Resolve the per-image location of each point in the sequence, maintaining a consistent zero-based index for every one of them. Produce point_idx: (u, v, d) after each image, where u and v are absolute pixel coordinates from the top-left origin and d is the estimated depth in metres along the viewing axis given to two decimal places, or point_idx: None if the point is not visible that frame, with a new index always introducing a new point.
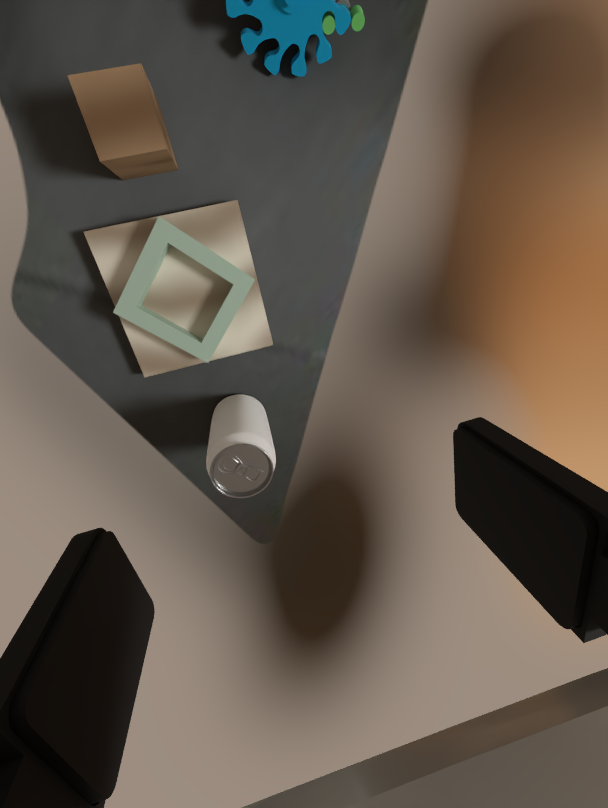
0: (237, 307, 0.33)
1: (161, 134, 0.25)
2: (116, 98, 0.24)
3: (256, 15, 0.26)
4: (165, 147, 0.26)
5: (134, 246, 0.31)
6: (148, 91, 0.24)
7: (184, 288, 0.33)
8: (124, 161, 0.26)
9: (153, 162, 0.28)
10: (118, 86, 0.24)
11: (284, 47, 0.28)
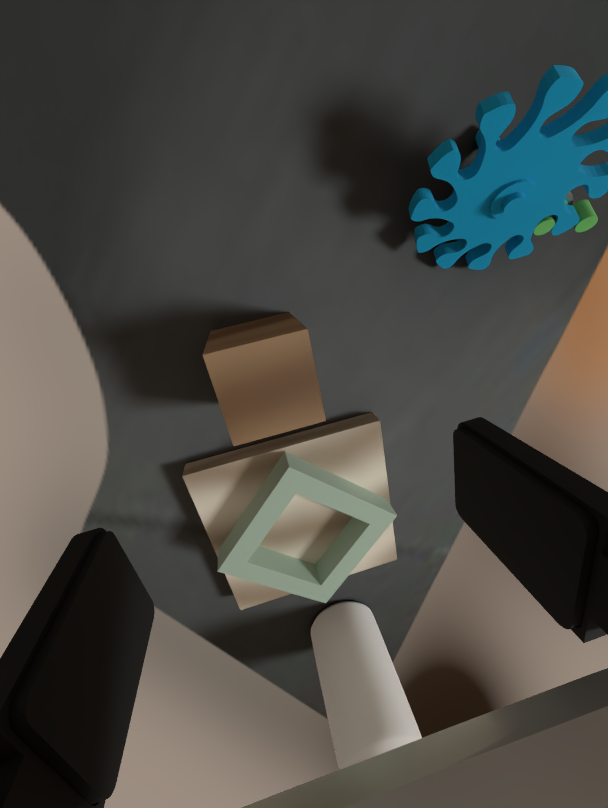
0: (370, 545, 0.26)
1: (321, 405, 0.18)
2: (266, 373, 0.16)
3: (450, 219, 0.18)
4: (324, 419, 0.18)
5: (244, 484, 0.24)
6: (312, 359, 0.17)
7: (300, 518, 0.26)
8: None
9: None
10: (271, 358, 0.16)
11: (471, 246, 0.20)
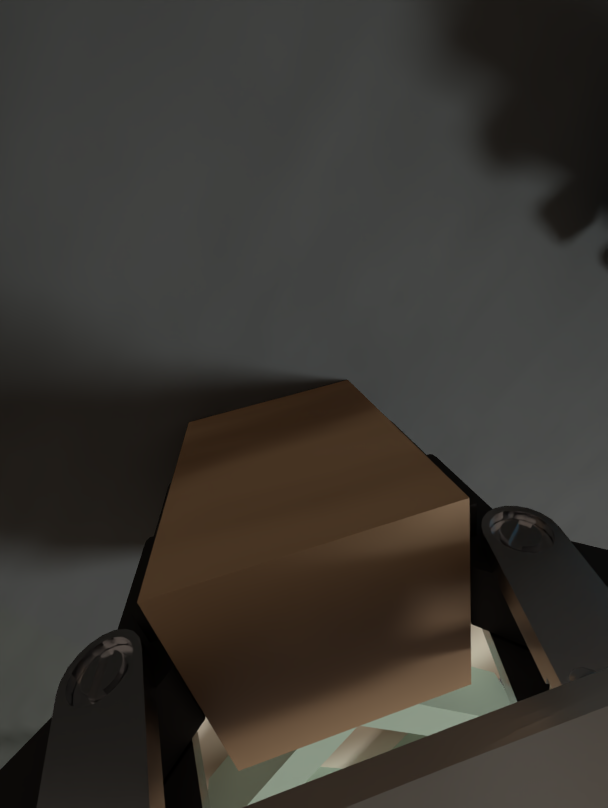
0: None
1: (466, 658, 0.07)
2: (336, 617, 0.06)
3: None
4: (467, 682, 0.07)
5: None
6: (464, 568, 0.06)
7: None
8: None
9: None
10: (354, 583, 0.05)
11: None
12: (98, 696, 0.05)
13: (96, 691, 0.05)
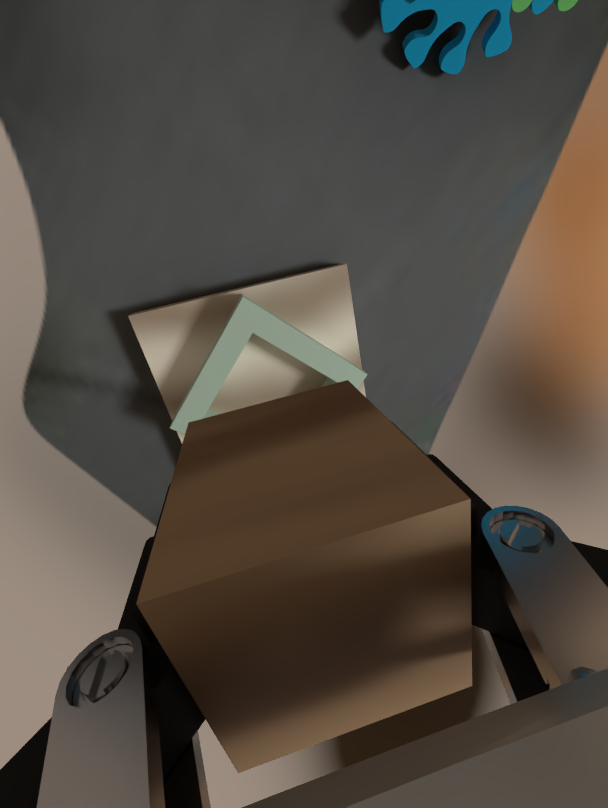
0: None
1: (466, 659, 0.07)
2: (337, 618, 0.06)
3: None
4: (468, 683, 0.07)
5: (198, 333, 0.22)
6: (465, 569, 0.06)
7: (264, 383, 0.24)
8: None
9: None
10: (355, 584, 0.05)
11: (442, 26, 0.18)
12: (98, 696, 0.05)
13: (96, 691, 0.05)
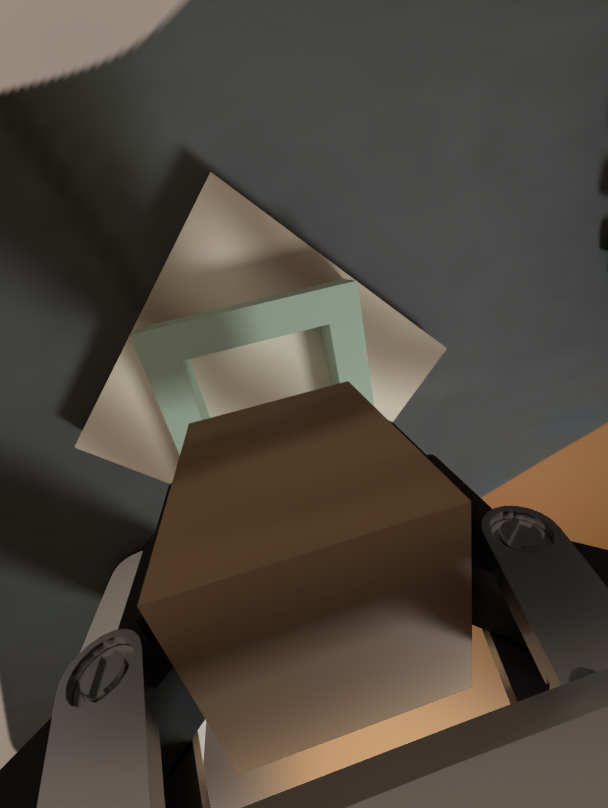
0: None
1: (467, 660, 0.07)
2: (337, 620, 0.06)
3: None
4: (468, 685, 0.07)
5: (264, 270, 0.15)
6: (466, 571, 0.06)
7: (273, 384, 0.17)
8: None
9: None
10: (355, 586, 0.05)
11: None
12: (98, 696, 0.05)
13: (96, 691, 0.05)
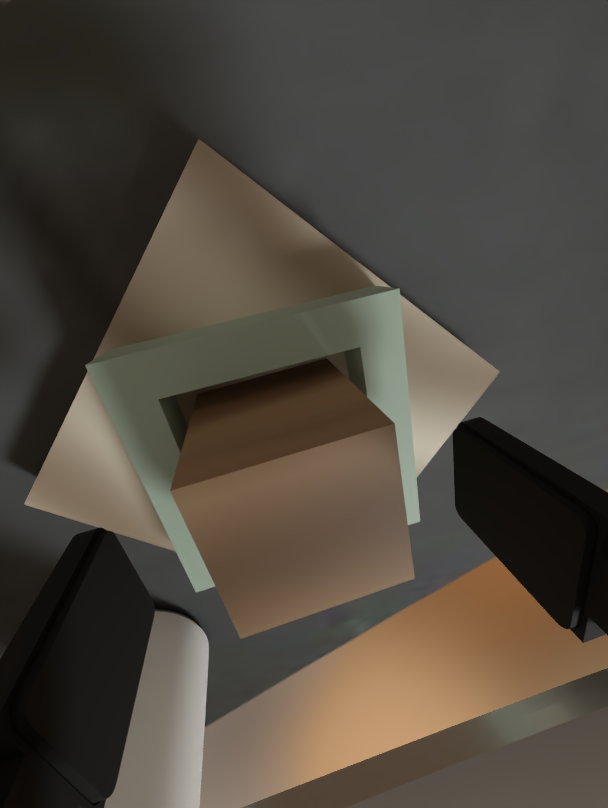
0: None
1: (408, 555, 0.09)
2: (306, 512, 0.08)
3: None
4: (411, 576, 0.09)
5: (272, 274, 0.12)
6: (398, 478, 0.08)
7: None
8: None
9: None
10: (317, 485, 0.08)
11: None
12: None
13: None
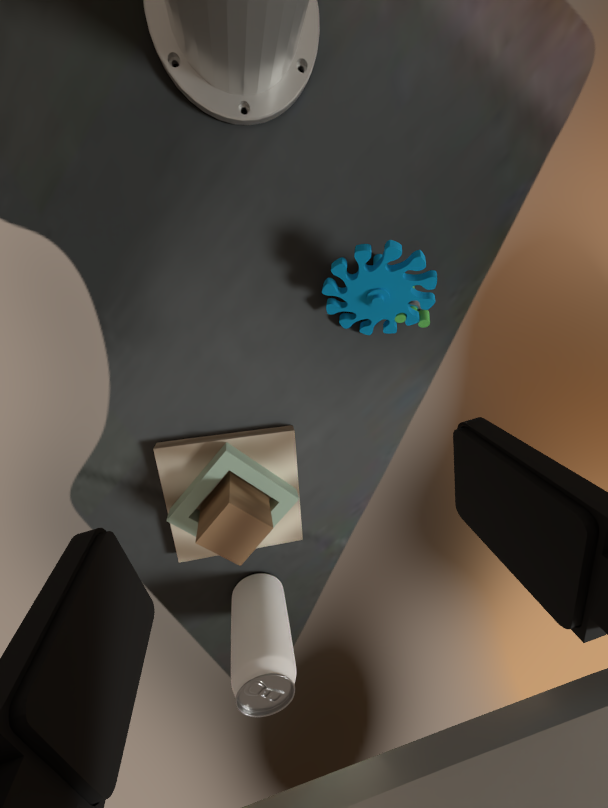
0: (279, 519, 0.36)
1: (265, 524, 0.31)
2: (227, 530, 0.31)
3: (345, 299, 0.31)
4: (272, 528, 0.32)
5: (195, 461, 0.34)
6: (242, 511, 0.30)
7: None
8: None
9: None
10: (224, 524, 0.30)
11: (359, 318, 0.33)
12: None
13: None
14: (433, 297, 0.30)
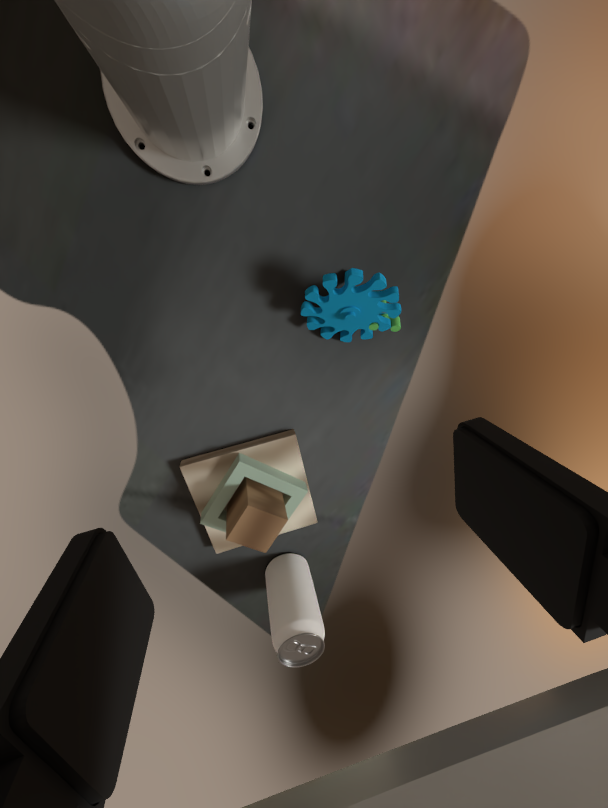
0: (293, 510, 0.42)
1: (280, 517, 0.38)
2: (250, 526, 0.37)
3: (322, 317, 0.35)
4: (286, 520, 0.38)
5: (216, 472, 0.41)
6: (260, 510, 0.37)
7: None
8: None
9: None
10: (247, 522, 0.37)
11: (337, 330, 0.37)
12: None
13: None
14: (399, 307, 0.34)
